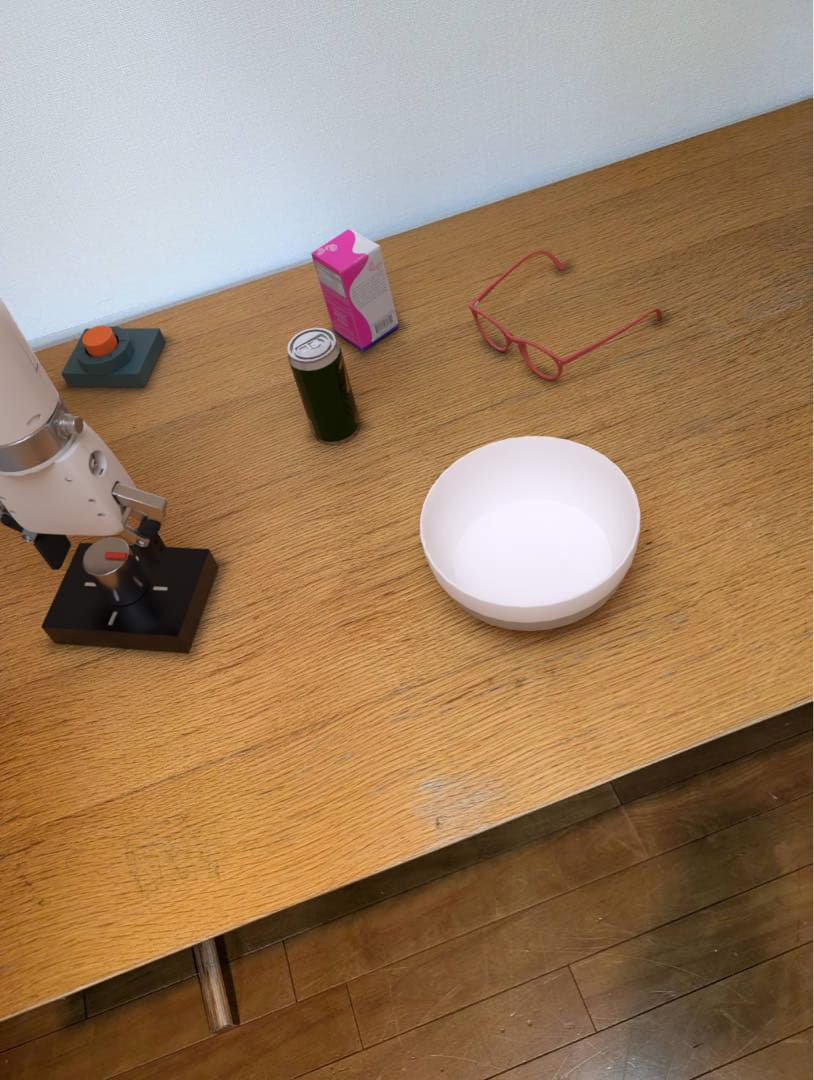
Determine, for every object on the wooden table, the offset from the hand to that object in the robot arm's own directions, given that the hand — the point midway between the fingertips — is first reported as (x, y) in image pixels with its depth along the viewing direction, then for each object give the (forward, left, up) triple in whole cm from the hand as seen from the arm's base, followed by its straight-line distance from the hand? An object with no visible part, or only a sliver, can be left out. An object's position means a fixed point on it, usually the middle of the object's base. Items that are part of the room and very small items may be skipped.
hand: (109, 559), depth 91 cm
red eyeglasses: (+38, +40, -8) cm, 56 cm away
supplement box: (+15, +40, -8) cm, 43 cm away
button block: (-15, +34, -8) cm, 38 cm away
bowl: (+38, +6, -8) cm, 39 cm away
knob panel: (0, 0, -8) cm, 8 cm away
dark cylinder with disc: (0, 0, -5) cm, 5 cm away
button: (-15, +33, -4) cm, 37 cm away
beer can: (+15, +24, -8) cm, 29 cm away
